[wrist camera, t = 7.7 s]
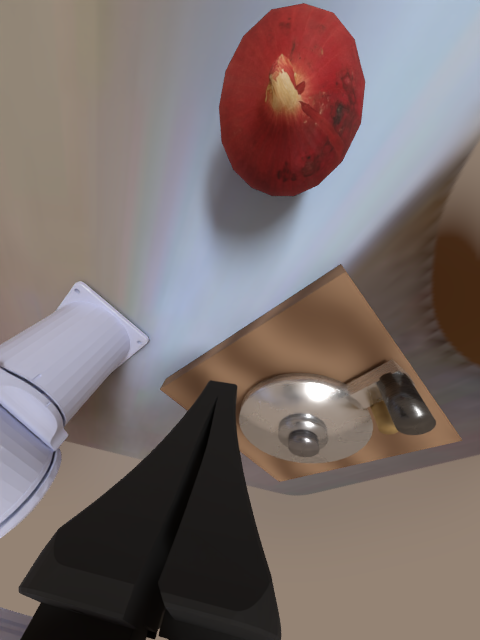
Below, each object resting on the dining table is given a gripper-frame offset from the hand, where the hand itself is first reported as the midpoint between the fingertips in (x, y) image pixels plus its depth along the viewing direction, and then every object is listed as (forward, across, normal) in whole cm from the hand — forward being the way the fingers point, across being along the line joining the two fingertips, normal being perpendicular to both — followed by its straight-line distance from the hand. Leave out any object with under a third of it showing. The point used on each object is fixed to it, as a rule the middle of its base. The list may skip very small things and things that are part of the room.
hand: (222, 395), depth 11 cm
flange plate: (+7, -8, +9) cm, 14 cm away
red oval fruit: (+10, -1, -11) cm, 15 cm away
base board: (+9, -6, +11) cm, 16 cm away
